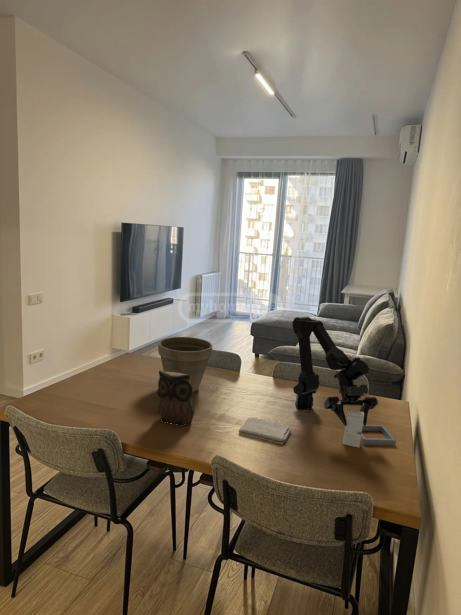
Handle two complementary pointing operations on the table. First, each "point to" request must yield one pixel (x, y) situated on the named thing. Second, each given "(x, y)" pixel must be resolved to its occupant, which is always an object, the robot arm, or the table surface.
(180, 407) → the owl
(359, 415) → the skincare box
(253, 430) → the washcloth
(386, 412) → the table surface
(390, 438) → the socket
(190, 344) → the plant pot
